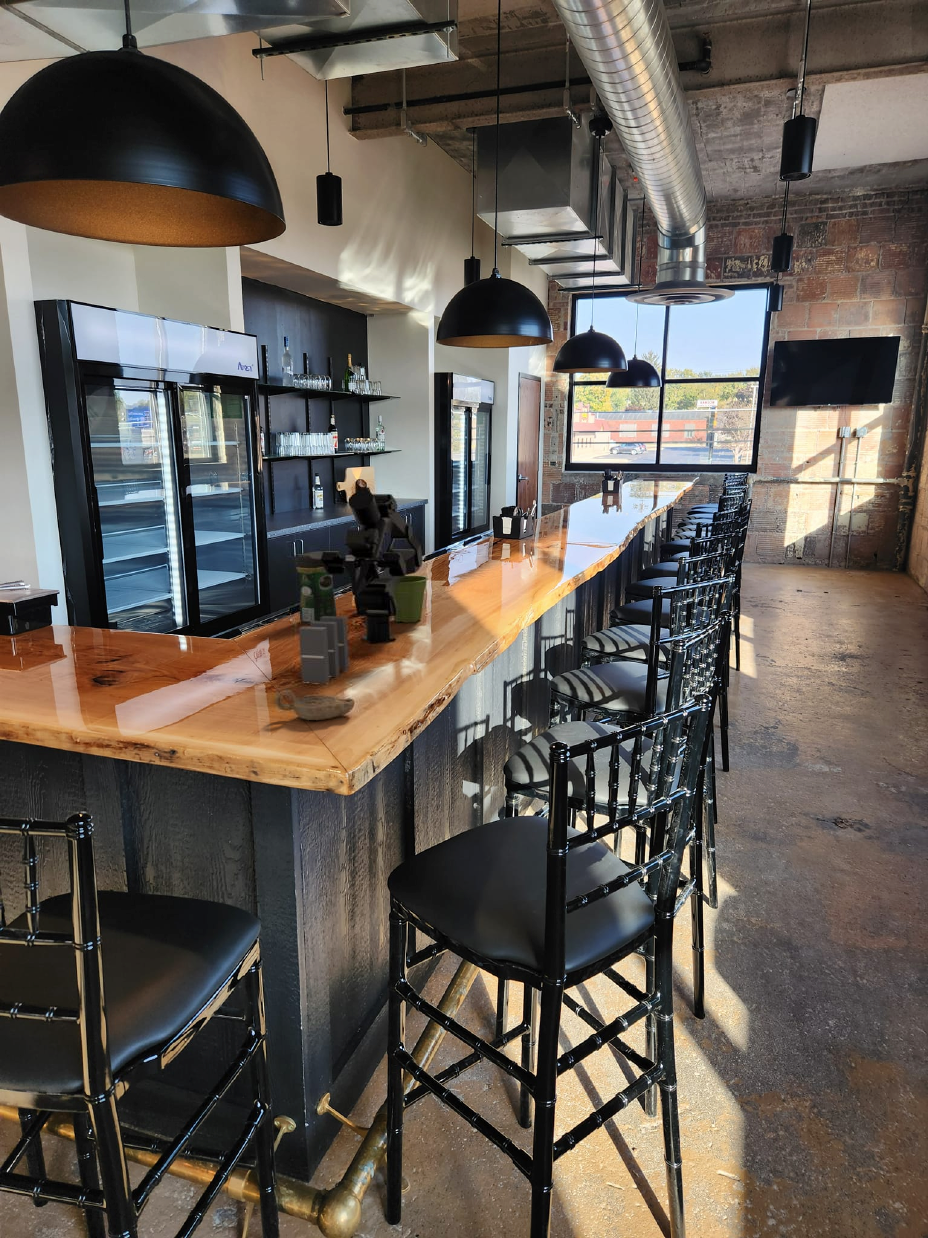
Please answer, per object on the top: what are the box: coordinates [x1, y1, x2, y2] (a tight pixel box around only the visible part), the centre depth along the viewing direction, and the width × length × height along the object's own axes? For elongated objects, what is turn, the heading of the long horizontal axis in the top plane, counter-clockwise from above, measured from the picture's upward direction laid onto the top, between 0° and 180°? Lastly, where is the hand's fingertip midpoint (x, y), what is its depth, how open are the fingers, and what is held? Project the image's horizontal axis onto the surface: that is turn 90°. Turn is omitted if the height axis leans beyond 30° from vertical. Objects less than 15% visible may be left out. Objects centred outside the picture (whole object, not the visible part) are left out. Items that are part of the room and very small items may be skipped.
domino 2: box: [309, 621, 340, 678], centre depth 158 cm, size 2×5×11 cm, turn 76°
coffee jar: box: [296, 550, 338, 625], centre depth 208 cm, size 10×8×19 cm
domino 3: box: [320, 616, 350, 672], centre depth 162 cm, size 2×5×11 cm, turn 77°
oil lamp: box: [275, 689, 355, 721], centre depth 133 cm, size 13×8×5 cm, turn 91°
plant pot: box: [392, 575, 429, 624], centre depth 208 cm, size 12×12×11 cm
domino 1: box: [298, 625, 331, 685], centre depth 153 cm, size 2×5×11 cm, turn 76°
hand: (354, 594), depth 172 cm, fingers closed
